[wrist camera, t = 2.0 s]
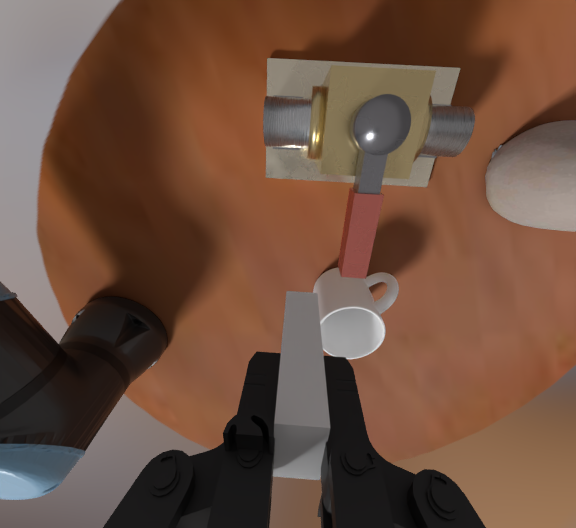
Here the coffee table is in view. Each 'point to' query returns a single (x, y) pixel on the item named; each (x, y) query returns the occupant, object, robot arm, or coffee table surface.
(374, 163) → the lever
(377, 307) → the mug
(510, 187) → the sculpture
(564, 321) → the coffee table surface
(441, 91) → the valve body
